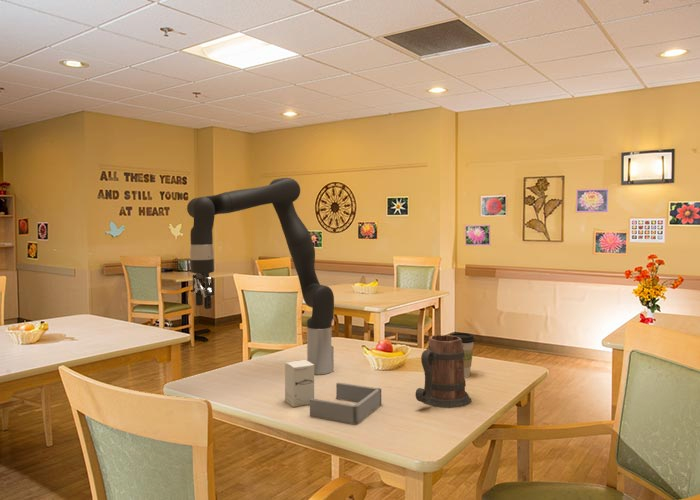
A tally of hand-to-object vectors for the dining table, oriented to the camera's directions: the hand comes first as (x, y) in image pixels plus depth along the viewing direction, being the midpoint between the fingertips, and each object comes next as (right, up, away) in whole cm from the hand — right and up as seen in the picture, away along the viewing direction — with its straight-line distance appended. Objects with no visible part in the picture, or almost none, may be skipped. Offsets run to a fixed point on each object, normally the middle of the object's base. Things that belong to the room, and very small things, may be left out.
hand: (203, 306), depth 177 cm
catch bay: (+47, -30, -14) cm, 57 cm away
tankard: (+77, -30, -7) cm, 83 cm away
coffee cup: (+90, -28, +22) cm, 97 cm away
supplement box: (+33, -30, -7) cm, 45 cm away
